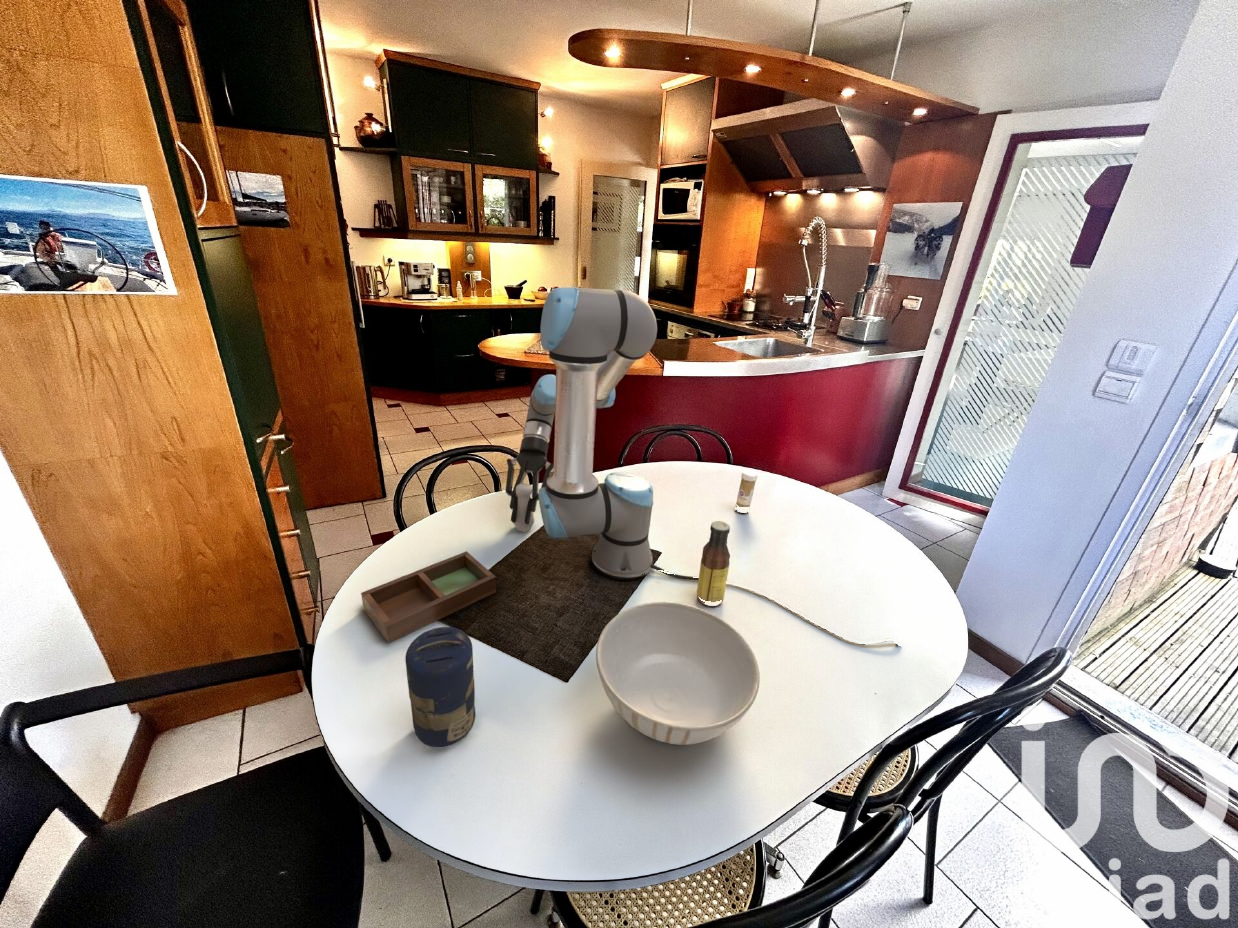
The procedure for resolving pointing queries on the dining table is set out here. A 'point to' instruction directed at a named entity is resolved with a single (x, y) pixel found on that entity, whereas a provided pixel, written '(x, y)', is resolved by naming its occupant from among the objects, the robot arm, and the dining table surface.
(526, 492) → the salt shaker
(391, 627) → the wooden compartment tray
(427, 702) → the canister
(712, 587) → the sauce bottle
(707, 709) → the decorative bowl
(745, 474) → the sprinkles bottle
